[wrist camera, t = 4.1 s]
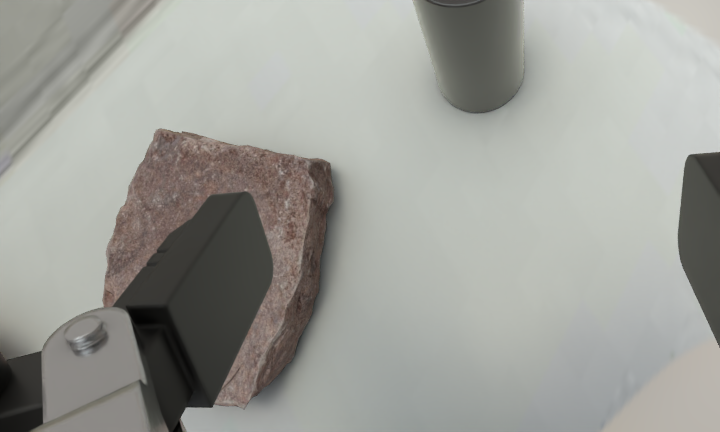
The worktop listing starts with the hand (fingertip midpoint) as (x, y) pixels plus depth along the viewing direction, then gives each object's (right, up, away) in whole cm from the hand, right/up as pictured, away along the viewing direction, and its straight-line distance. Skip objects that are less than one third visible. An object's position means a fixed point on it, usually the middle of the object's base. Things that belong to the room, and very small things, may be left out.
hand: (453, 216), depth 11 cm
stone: (-7, -3, +18) cm, 20 cm away
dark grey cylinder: (+4, +7, +17) cm, 19 cm away
